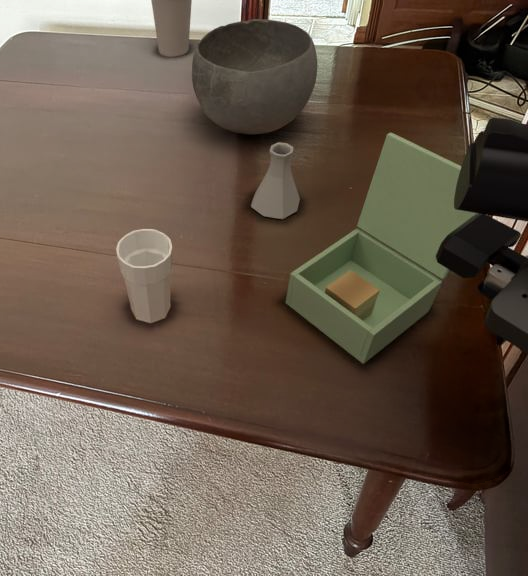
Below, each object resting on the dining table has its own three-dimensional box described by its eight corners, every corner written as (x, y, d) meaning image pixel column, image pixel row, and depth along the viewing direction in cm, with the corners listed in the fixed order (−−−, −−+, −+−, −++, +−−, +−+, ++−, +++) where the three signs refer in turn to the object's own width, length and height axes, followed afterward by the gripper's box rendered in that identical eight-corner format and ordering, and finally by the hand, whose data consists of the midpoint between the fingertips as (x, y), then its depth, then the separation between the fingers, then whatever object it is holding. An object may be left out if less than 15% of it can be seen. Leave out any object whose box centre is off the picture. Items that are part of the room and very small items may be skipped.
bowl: (289, 86, 109) (299, 6, 98) (324, 146, 95) (340, 60, 84) (184, 101, 109) (182, 21, 97) (204, 163, 95) (204, 78, 84)
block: (372, 313, 70) (380, 290, 67) (348, 331, 69) (355, 308, 65) (343, 293, 73) (350, 269, 70) (320, 310, 71) (325, 287, 68)
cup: (115, 309, 75) (104, 249, 67) (150, 281, 78) (144, 221, 70) (150, 335, 72) (143, 277, 63) (186, 306, 74) (184, 245, 66)
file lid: (491, 184, 57) (494, 182, 57) (386, 133, 64) (390, 131, 64) (442, 279, 66) (446, 277, 66) (356, 226, 73) (360, 224, 73)
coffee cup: (204, 46, 123) (204, -28, 112) (176, 64, 118) (173, -12, 107) (170, 36, 127) (167, -37, 116) (142, 52, 123) (136, -21, 112)
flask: (285, 226, 83) (293, 170, 76) (242, 209, 86) (245, 154, 79) (307, 199, 87) (317, 143, 79) (265, 183, 90) (271, 129, 82)
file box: (363, 364, 66) (374, 335, 62) (285, 303, 73) (290, 273, 69) (428, 311, 71) (443, 280, 66) (349, 258, 78) (357, 227, 74)
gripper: (423, 213, 43) (376, 337, 54) (712, 374, 32) (577, 485, 44) (507, 153, 47) (447, 281, 58) (790, 279, 36) (647, 404, 48)
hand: (518, 354), depth 52 cm, fingers open, 3 cm apart
